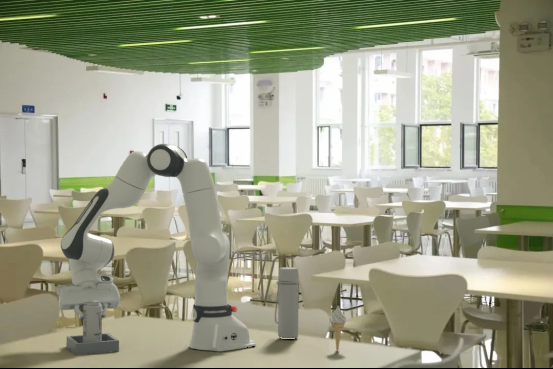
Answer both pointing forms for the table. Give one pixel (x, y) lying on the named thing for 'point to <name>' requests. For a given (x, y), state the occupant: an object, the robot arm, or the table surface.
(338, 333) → the ice cream cone
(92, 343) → the gray tray
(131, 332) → the table surface
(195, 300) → the robot arm
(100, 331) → the energy drink can
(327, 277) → the table surface
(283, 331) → the water bottle
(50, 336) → the table surface
